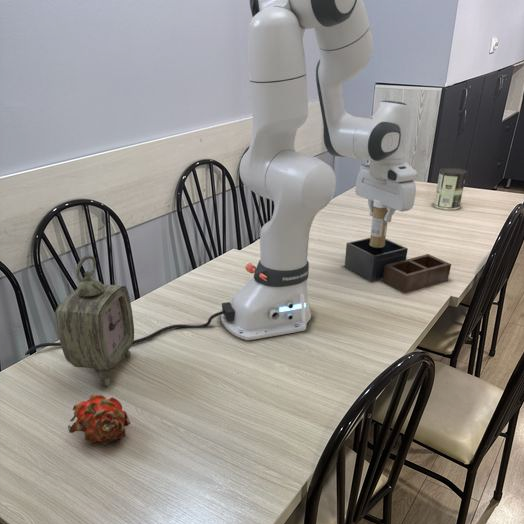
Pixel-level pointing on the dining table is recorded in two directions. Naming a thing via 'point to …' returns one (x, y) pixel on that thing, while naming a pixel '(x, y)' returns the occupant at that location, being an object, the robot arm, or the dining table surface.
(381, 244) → the spice jar
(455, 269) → the dining table surface
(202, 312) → the dining table surface
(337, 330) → the dining table surface
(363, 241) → the dark grey open box
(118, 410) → the dragon fruit
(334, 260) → the dining table surface
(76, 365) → the tabletop clock
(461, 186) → the coffee can
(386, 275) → the rack
